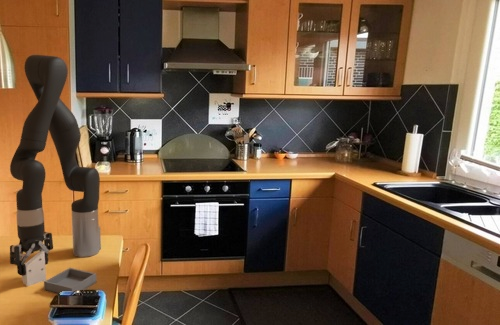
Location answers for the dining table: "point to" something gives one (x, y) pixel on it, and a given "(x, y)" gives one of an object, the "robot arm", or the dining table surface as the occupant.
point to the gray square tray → (70, 281)
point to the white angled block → (35, 269)
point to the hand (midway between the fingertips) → (33, 269)
